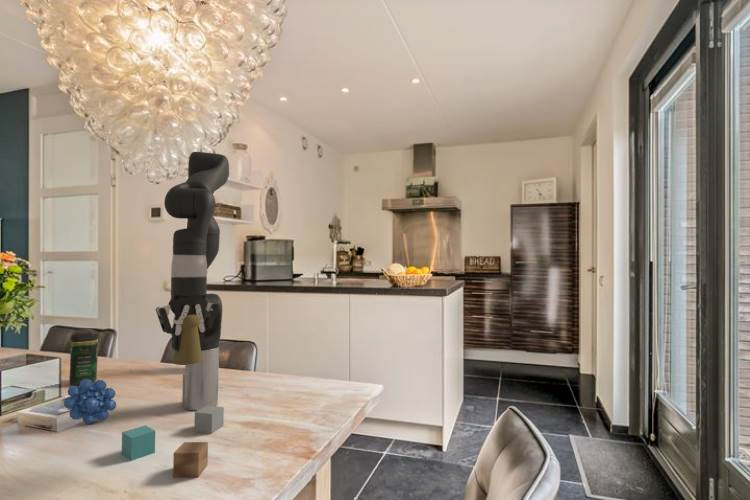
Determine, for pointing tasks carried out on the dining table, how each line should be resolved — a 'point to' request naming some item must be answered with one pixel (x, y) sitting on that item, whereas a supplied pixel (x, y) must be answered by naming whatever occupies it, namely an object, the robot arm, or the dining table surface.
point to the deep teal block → (138, 442)
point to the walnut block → (190, 460)
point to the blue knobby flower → (90, 401)
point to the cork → (189, 342)
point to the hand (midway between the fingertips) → (187, 349)
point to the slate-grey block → (209, 419)
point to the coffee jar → (83, 356)
